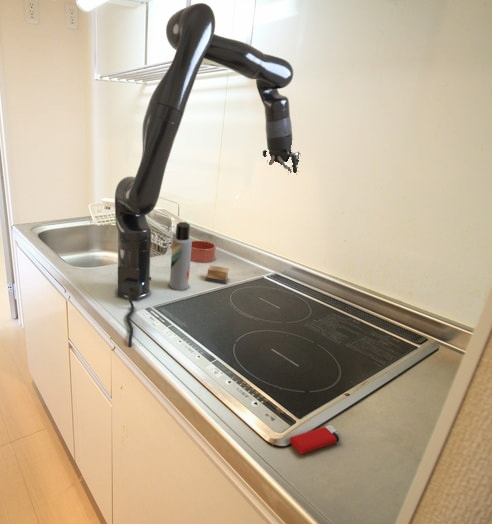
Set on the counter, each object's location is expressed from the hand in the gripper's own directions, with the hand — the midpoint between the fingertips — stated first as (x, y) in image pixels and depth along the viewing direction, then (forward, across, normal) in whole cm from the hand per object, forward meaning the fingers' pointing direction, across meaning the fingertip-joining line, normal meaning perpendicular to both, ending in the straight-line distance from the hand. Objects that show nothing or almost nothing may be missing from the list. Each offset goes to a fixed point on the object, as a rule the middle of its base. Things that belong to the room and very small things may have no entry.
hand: (283, 181), depth 121 cm
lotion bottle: (+15, +4, -48) cm, 51 cm away
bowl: (+22, -16, -28) cm, 39 cm away
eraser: (+19, +5, -35) cm, 40 cm away
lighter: (+11, +64, -57) cm, 86 cm away
